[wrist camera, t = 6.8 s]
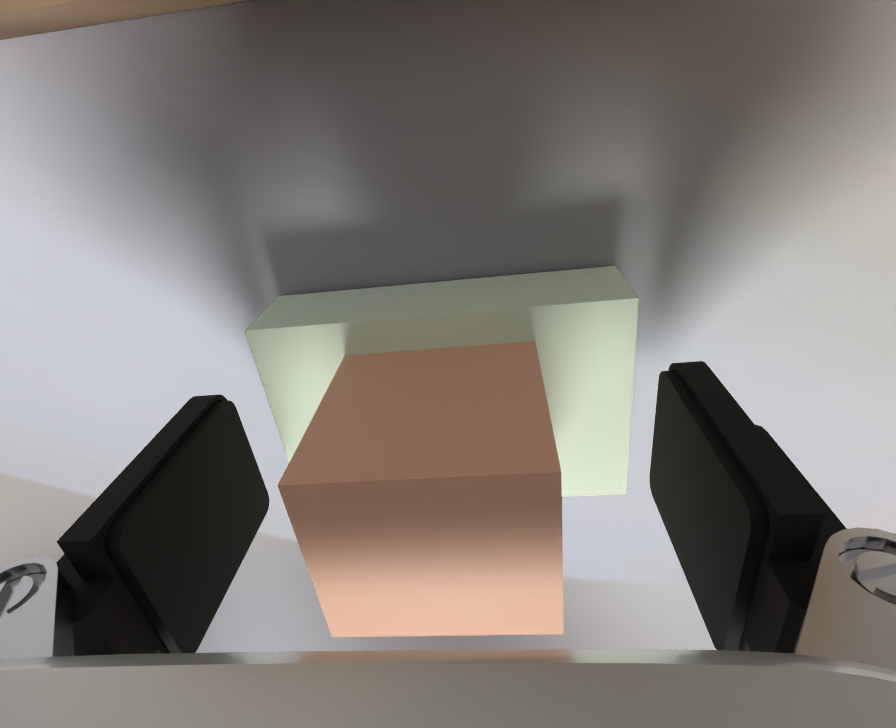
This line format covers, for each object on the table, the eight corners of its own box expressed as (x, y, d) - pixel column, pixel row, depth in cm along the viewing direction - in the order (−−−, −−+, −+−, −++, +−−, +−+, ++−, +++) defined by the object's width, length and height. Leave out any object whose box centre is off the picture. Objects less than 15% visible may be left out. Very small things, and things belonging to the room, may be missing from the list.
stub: (615, 265, 12) (725, 416, 6) (608, 442, 14) (683, 659, 9) (278, 295, 12) (126, 450, 7) (325, 457, 15) (237, 663, 10)
